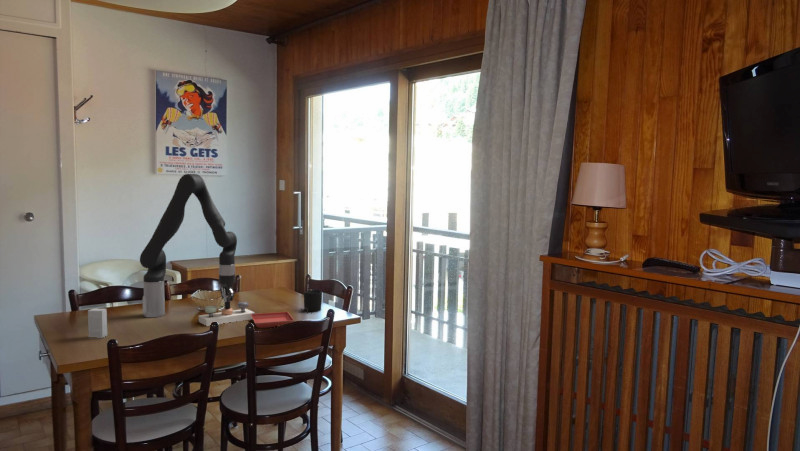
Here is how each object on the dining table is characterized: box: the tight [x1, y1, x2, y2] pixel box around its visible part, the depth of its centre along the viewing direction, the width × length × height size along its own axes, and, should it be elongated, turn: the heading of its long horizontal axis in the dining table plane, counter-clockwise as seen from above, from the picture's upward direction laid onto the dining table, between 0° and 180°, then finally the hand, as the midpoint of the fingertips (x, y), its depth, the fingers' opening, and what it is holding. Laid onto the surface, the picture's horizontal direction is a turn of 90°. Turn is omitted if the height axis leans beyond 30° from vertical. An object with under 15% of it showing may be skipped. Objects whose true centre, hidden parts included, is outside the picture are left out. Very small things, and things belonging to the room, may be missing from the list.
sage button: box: [204, 305, 218, 317], centre depth 263 cm, size 5×5×5 cm
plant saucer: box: [251, 311, 295, 329], centre depth 266 cm, size 18×18×3 cm
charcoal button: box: [237, 301, 249, 313], centre depth 274 cm, size 5×5×5 cm
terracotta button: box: [221, 307, 234, 315], centre depth 269 cm, size 5×5×5 cm
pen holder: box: [303, 289, 323, 313], centre depth 292 cm, size 9×9×10 cm
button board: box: [198, 308, 256, 327], centre depth 269 cm, size 24×10×3 cm, turn 130°
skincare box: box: [87, 308, 108, 339], centre depth 237 cm, size 6×4×12 cm
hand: (227, 308), depth 268 cm, fingers closed
